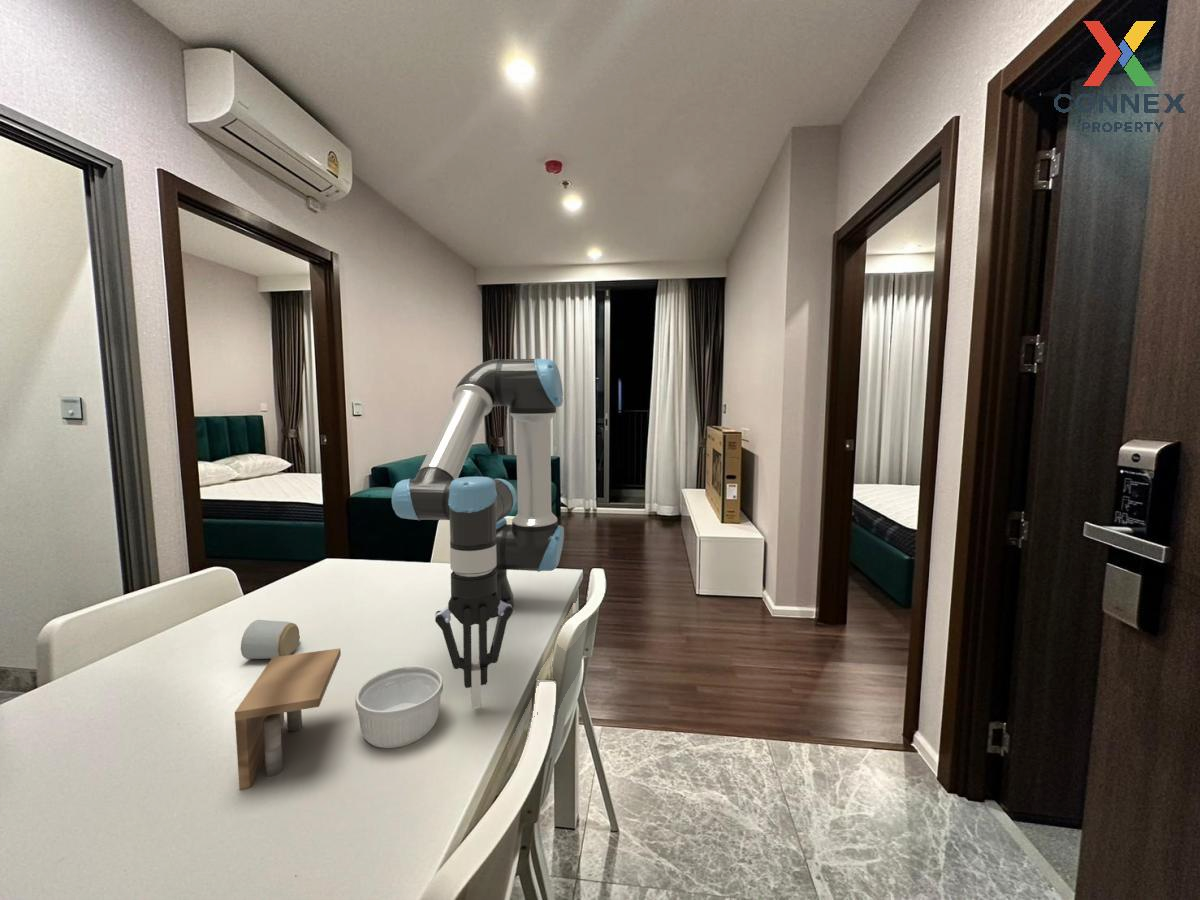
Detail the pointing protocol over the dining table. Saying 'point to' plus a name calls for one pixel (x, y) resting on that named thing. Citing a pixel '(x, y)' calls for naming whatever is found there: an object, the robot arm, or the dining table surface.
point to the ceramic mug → (269, 639)
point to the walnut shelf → (278, 708)
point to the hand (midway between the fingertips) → (476, 702)
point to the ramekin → (399, 705)
